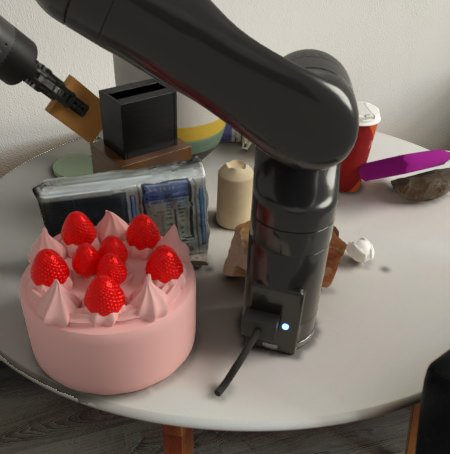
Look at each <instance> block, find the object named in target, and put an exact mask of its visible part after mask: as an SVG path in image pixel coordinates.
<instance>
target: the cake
mask: <svg viewBox="0 0 450 454" xmlns="http://www.w3.org/2000/svg"><path fill="white" fill-rule="evenodd" d="M105 212H106V213H105V215H104V217H103V219H102V220H101V221H100V222H99V223H98V224H97V226H94V225H93V223H92V222H91V220H90V219H89V218H88V217H87V216H86V215H85V214H84V213H82V212H80V211H74V212H71V213H70V214H69V215H68V216H67V217H66V219H65V221H64V224H63V226H62V230H61V234H58V235H56V236H55V237H53V238H52V237H51V236H50V235H49V234H48V231H47V229H46V228H45V226H43V227H42V230H41V232H40V233H39V236H38V238H37V239H36V240H35V242H34V243H33V244H32V245H31V251H30V252H29V253H28V255H27V260H28V262H29V264H28V265H27V267H26V268H25V270H24V271H23V273H22V275H21V278H20V282H19V288H18V292H19V293H18V294H19V300H20V305H21V310H22V314H23V318H24V321H25V326H26V329H27V334H28V337H29V338H28V339H29V342H30V344H31V349H32V352H33V355H34V359H35V360H36V362H37V364H38V366H40V369H41V370H42V371H43V372H44V373H45V374H46V375H47V376H49V377H50V378H51V379H52V380H54V381H55V382H57V383H59V384H60V385H63V386H65V387H67V388H69V389H70V390H73V391H77V392H81V393H87V394H93V395H103V396H109V395H120V394H127V393H132V392H137V391H142V390H143V389H146V388H149V387H150V386H153V385H155V384H157V383H159V382H161V381H163V380H165V379H166V378H168V377H169V376H171V375H172V374H173V373H174V372H176V370H177V369H178V368H179V367H180V366H181V365H182V364H183V363H184V362H185V360H186V359H187V358H188V357H189V355H190V353H191V351H192V349H193V346H194V344H195V341H196V329H197V275H196V271H195V267H193V265H192V263H191V261H190V260H189V252H190V251H189V248H188V246H187V245H186V244H185V243H184V242H182V241H181V240H180V238H179V235H178V231H177V228H176V226H175V224H174V225H173V226H172V227H171V228H170V230H169V231H168V232H167V233H166V235H165V236H164V237H163V236H161V234H160V231H159V229H158V227H157V226H156V224H155V223H154V221H153V220H152V219H151V218H150V217H149V216H148V215H145V214H139V215H137V216H135V217H134V218H133V219H132V221H131V222H130V224H129V225H128V224H127V223H126V222H125V221H124V220H122V219H121V218H120V217H119V216H117V215H116V214H114V213H113V212H110V211H108V210H106V211H105Z"/></svg>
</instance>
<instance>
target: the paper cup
mask: <svg viewBox="0 0 450 454" xmlns="http://www.w3.org/2000/svg"><path fill="white" fill-rule="evenodd" d="M356 101H357V105H358V111H359V130H358V135H357V140H356V143H355V145H354V147H353V149H352V151H351V152H350V154H349V155H348V156H347V157H346V158H345V159H344V160H343V161H342V162H341V166H340V180H339V193H347V194H348V193H354V192H357V191H358V190H359V188H360V186H361V183H362V181H363V180H362V179H361V178H360V175H359V168H360V166H361V165H362V164H364V163H368V160H369V156H370V153H371V149H372V145H373V142H374V139H375V135H376V131H377V128H378V125H379V123H381V120H382V117H381V113H380V111H381V110H380V109H379V107H378V106H376V105H375V104H373V103H370V102H368V101H362V100H356Z"/></svg>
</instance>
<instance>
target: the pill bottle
mask: <svg viewBox="0 0 450 454" xmlns="http://www.w3.org/2000/svg"><path fill="white" fill-rule="evenodd" d="M219 143H242V140H241V134H239V133H238V132H237V131H235V130H234V129H233V128H231V127H230V126H229V125H228V124H226V125H225V129H224V132H223V135H222V138H221V140H220V142H219Z"/></svg>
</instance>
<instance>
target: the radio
mask: <svg viewBox="0 0 450 454" xmlns="http://www.w3.org/2000/svg"><path fill="white" fill-rule="evenodd" d="M202 160H203V159H202ZM202 160H201V159H200V158H198V156H195V157H194V158H192V159H191V160H186V161H177V162H173V163H169V164H164V165H152V166H150V167H145V168H141V169H137V170H135V169H132V170H130V169H127V170H111V171H107V172H99V173H95V174H84V175H80V176H70V177H61V178H58V177H54V178H48V179H43V180H41V181H40V182H38V183H37V185H35V186H33V187H32V188H31V191H32V194H33V196H34V198H35V199H36V202H37V205H38V208H39V211H40V215H41V218H42V219H41V220H42V222H43V225H44V227H45V228H46V229H47V231H48V234H49V235H50V236H51V237H52V238H53V237H55V236H56V235H58V234H61V230H62V226H63V224H64V221H65V219H66V217H67V216H68V215H69V214H70V213H71V212H74V211H80V212H82V213H84V214H85V215H86V216H87V217H88V218H89V219H90V220H91V222H92V223H93V225H94V226H97V224H98V223H99V222H100V221H101V220H102V219H103V217H104V215H105V213H106V212H105V211H106V210H108V211H110V212H113V213H114V214H116V215H117V216H119V217H120V218H121V219H122V220H124V221H125V222H126V223H127V224H128V225H129V224H130V222H131V221H132V219H133V218H134V217H135V216H137V215H139V214H145V215H148V216H149V217H150V218H151V219H152V220H153V221H154V223H155V224H156V226H157V227H158V229H159V231H160V234H161V236H163V237H164V236H165V235H166V233H167V232H168V231H169V230H170V228H171V227H172V226H173V225H174V224H175V226H176V228H177V231H178V235H179V238H180V240H181V241H182V242H184V243H185V244H186V245H187V246H188V248H189V251H190V252H189V260H190V261H191V263H192V265H193V268H195V267H204V266H205V267H206V266H209V259H208V253H209V252H208V251H209V242H210V234H211V229H210V224H209V215H208V213H209V212H208V208H209V200H210V199H209V193H208V190H207V176H206V172H205V168H204V165H203V164H204V162H203V161H202Z"/></svg>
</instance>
